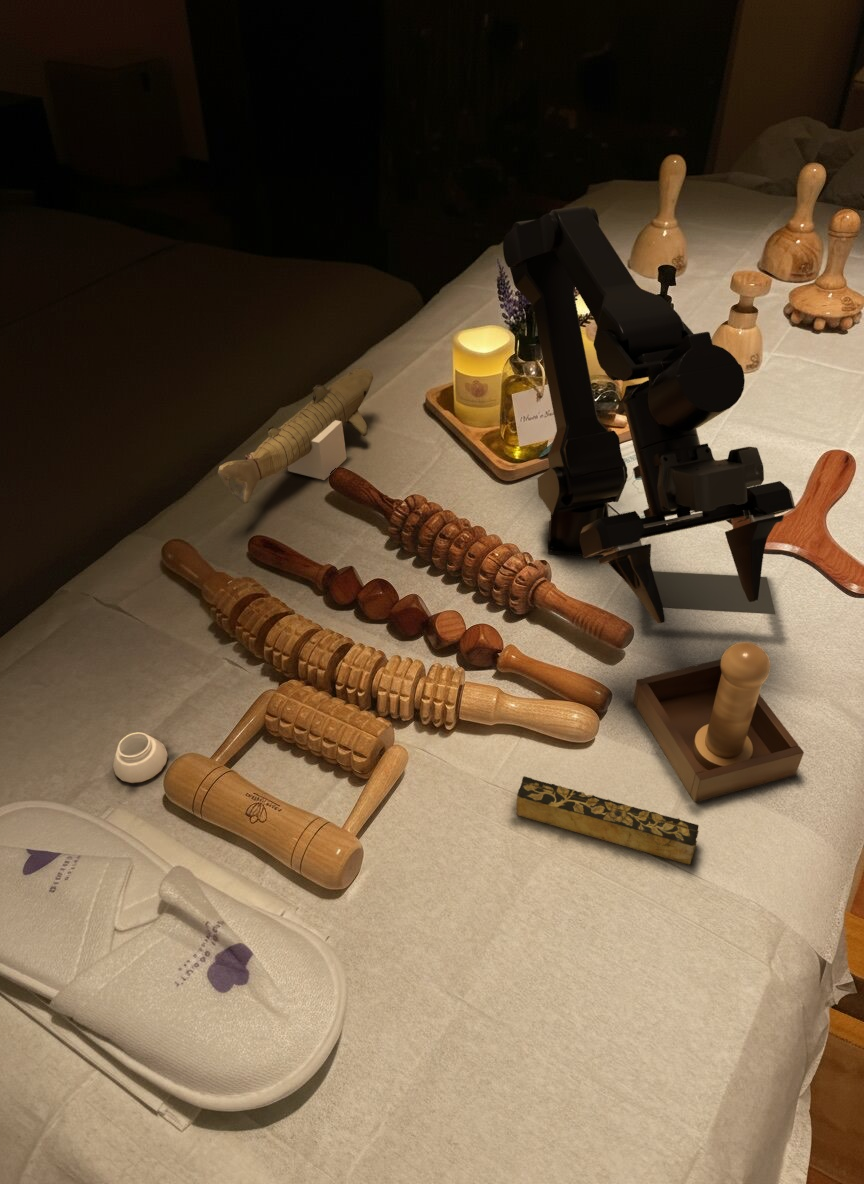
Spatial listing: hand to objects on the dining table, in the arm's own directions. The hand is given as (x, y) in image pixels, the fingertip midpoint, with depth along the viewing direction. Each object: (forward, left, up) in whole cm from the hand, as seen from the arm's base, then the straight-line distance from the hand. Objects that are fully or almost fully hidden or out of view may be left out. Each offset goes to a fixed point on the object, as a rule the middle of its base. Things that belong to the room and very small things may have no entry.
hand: (707, 612), depth 79 cm
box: (+2, -4, -13) cm, 14 cm away
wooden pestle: (+3, -6, -12) cm, 14 cm away
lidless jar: (-52, -12, -13) cm, 55 cm away
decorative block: (-8, -15, -13) cm, 22 cm away
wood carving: (-48, +39, -13) cm, 64 cm away
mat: (+4, +16, -13) cm, 20 cm away
